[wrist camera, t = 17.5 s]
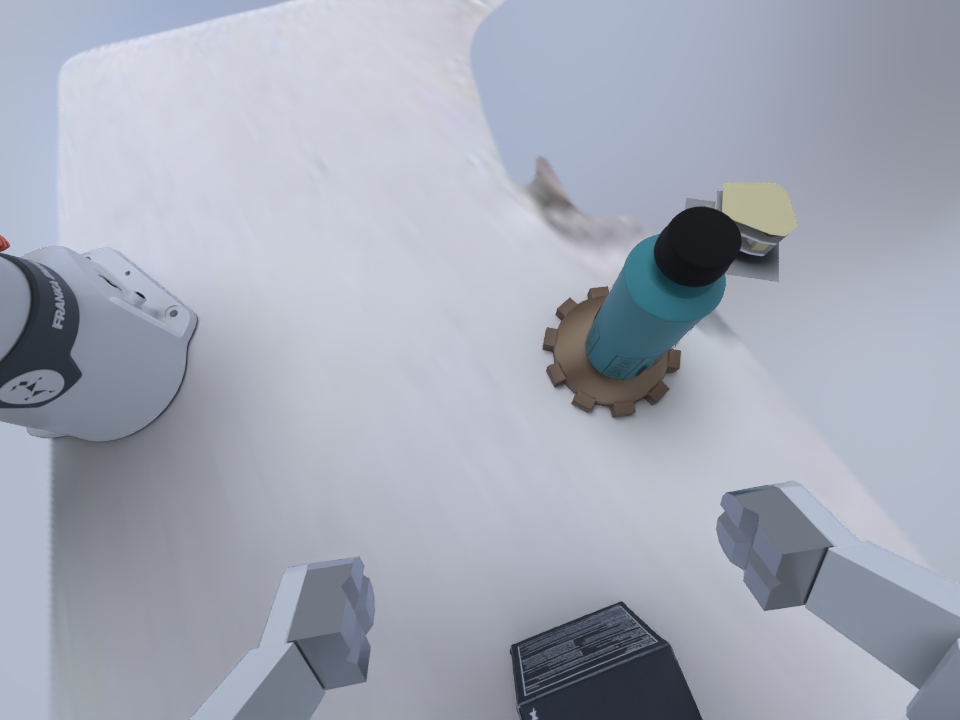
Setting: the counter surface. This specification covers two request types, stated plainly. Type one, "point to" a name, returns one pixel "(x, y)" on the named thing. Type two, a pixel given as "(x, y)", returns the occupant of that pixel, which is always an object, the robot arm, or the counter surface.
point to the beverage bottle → (663, 292)
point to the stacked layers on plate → (755, 225)
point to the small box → (600, 672)
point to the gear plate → (584, 376)
